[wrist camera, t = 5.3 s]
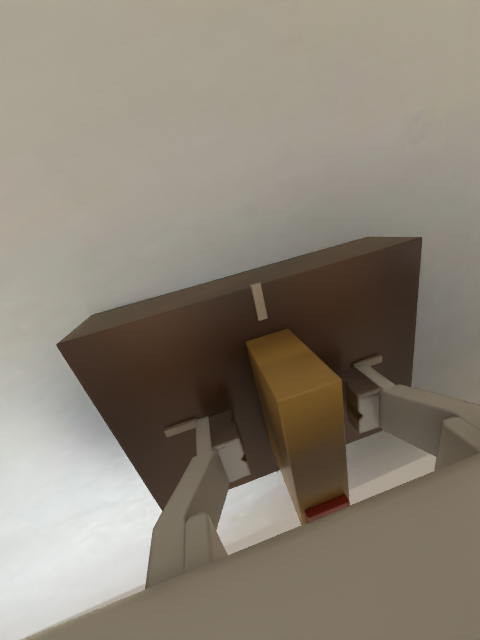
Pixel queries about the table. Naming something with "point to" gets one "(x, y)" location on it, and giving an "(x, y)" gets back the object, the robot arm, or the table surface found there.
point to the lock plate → (242, 349)
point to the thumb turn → (303, 422)
